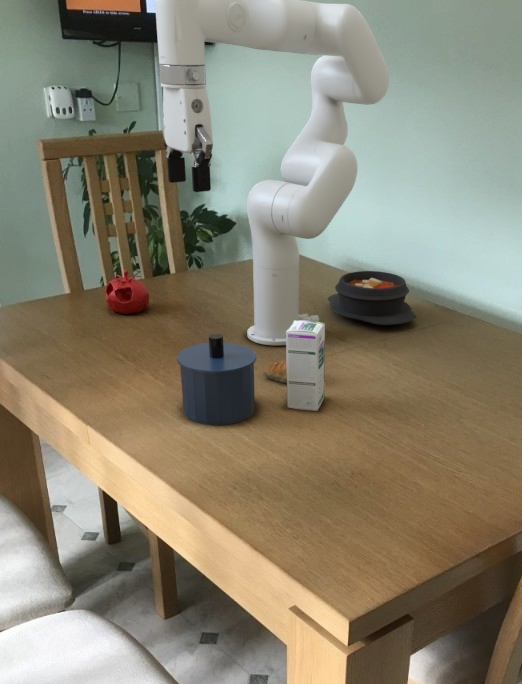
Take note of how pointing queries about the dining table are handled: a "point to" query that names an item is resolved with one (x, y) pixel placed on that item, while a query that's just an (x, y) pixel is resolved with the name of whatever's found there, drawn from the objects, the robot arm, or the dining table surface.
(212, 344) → the lid
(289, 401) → the syrup box
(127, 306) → the pomegranate
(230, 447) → the dining table surface
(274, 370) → the pastry
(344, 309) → the casserole
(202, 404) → the pot
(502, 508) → the dining table surface
